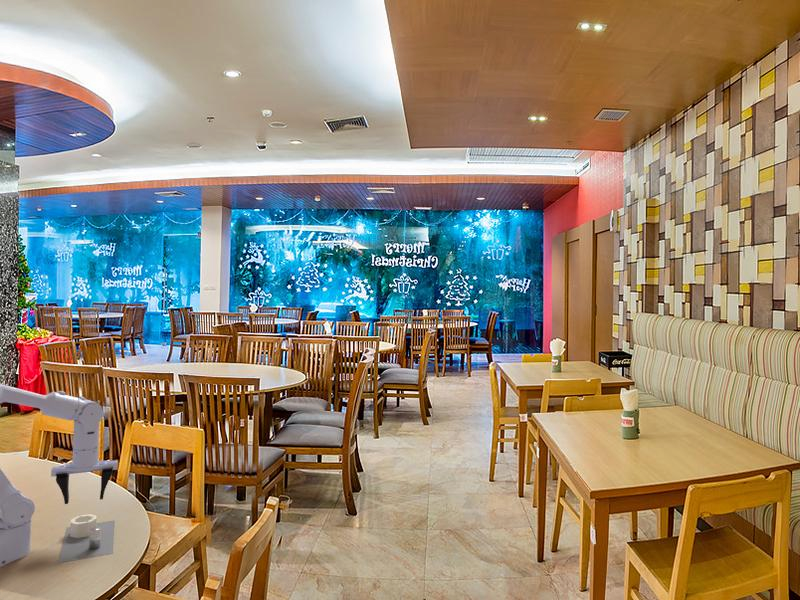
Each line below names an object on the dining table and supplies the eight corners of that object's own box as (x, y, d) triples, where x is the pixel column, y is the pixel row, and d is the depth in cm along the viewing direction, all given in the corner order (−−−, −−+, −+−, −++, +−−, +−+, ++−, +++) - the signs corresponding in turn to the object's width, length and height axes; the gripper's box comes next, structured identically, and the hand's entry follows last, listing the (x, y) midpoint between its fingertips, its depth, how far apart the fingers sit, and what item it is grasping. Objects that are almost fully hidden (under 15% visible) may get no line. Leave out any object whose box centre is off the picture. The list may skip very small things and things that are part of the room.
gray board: (112, 558, 124) (112, 553, 124) (57, 568, 119) (57, 563, 119) (114, 524, 142) (114, 520, 142) (66, 532, 136) (66, 527, 136)
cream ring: (95, 535, 133) (95, 521, 133) (69, 539, 130) (69, 525, 130) (96, 526, 138) (96, 513, 138) (71, 530, 135) (71, 516, 135)
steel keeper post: (94, 550, 125) (95, 531, 125) (86, 549, 126) (86, 530, 125) (102, 545, 127) (103, 527, 127) (94, 544, 128) (94, 526, 128)
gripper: (118, 440, 141) (116, 490, 141) (54, 446, 134) (52, 498, 134) (117, 447, 134) (116, 500, 135) (50, 453, 128) (48, 509, 128)
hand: (84, 500), depth 134 cm, fingers open, 7 cm apart
